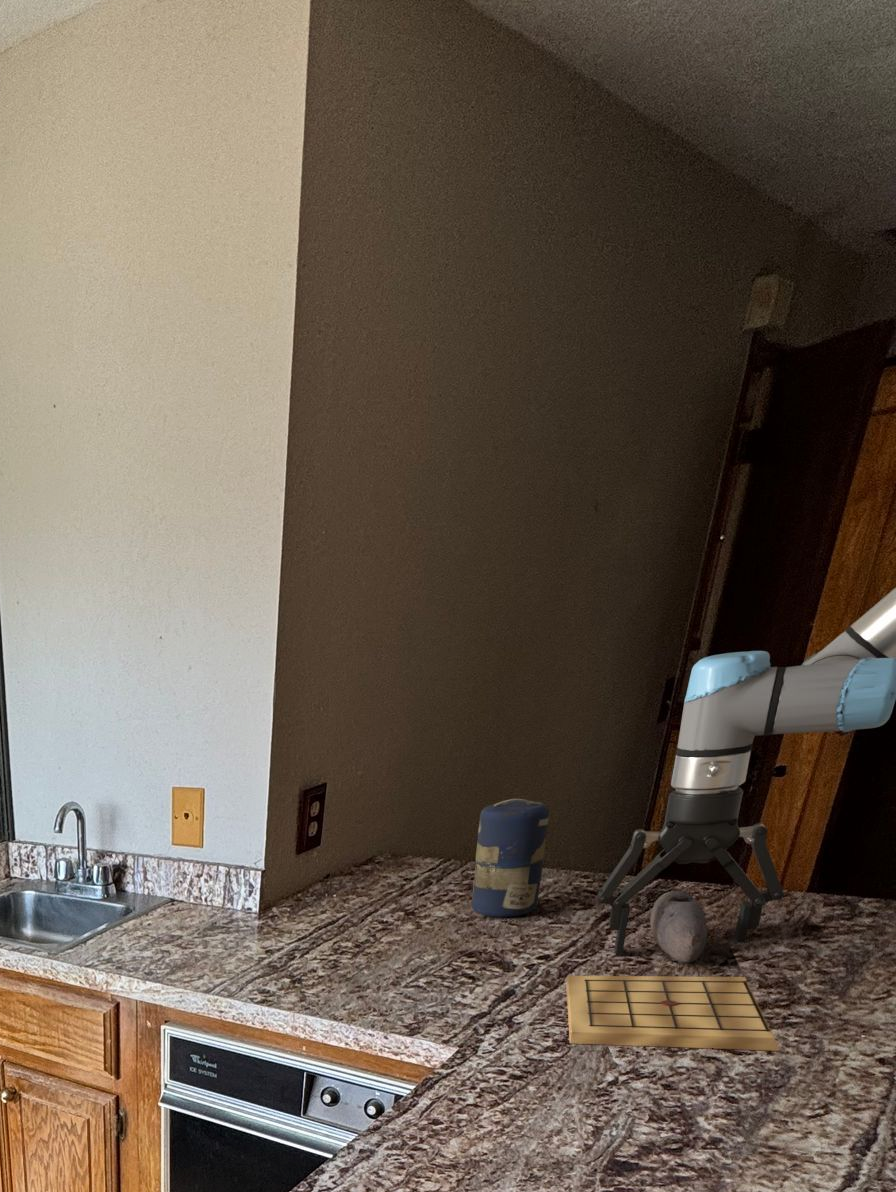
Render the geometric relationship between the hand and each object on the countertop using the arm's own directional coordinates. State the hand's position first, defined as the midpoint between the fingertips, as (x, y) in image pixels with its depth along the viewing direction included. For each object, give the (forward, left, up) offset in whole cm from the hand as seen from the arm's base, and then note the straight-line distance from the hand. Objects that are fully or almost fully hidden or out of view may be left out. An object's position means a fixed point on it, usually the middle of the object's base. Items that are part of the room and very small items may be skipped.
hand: (676, 952), depth 134 cm
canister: (+21, -22, 0) cm, 30 cm away
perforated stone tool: (0, 0, 0) cm, 0 cm away
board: (+3, +24, 0) cm, 24 cm away
